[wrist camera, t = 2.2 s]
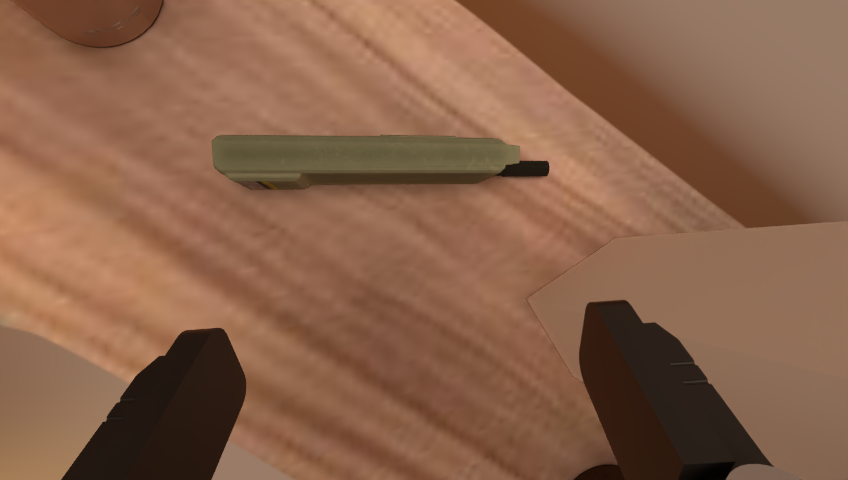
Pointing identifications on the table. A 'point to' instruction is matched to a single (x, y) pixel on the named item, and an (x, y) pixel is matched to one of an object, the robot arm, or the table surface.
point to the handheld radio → (365, 160)
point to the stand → (736, 325)
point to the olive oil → (603, 473)
